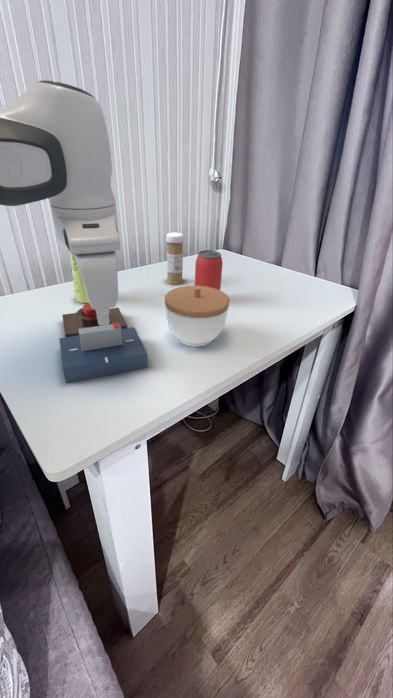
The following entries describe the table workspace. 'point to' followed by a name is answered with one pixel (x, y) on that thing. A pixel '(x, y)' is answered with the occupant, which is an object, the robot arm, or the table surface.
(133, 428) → the table surface
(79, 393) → the table surface
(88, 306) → the button
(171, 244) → the sprinkles bottle
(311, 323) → the table surface
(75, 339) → the panel
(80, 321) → the button block
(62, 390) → the table surface
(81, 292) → the tube
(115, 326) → the grey rectangular block
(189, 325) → the lidded bowl
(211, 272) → the beer can
